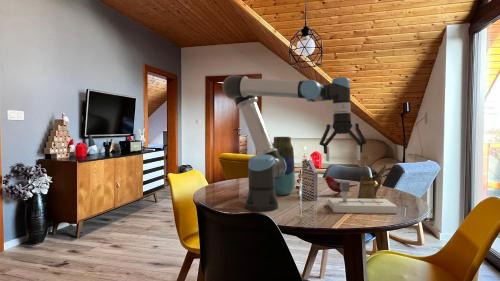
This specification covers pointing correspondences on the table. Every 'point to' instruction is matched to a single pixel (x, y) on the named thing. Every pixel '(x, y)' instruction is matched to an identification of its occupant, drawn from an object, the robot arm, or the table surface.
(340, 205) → the board
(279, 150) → the vase
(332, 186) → the decorative bird figurine
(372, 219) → the table surface
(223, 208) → the table surface
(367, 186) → the brown watering can
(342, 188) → the fader
